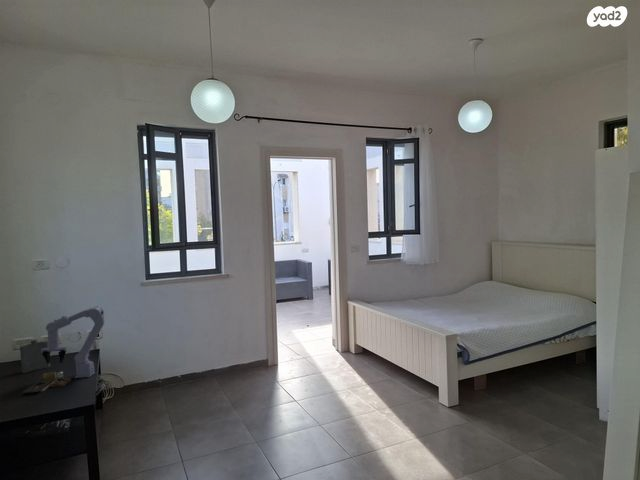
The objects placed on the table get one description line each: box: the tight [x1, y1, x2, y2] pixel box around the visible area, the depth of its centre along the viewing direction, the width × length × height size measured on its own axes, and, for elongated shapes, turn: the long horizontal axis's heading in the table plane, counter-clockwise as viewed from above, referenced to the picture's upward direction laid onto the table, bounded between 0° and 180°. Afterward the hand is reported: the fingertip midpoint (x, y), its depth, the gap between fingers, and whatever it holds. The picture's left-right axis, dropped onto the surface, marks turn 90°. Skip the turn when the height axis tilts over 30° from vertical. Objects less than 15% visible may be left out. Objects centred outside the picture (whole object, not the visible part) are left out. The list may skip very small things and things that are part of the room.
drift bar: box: [22, 371, 57, 394], centre depth 249 cm, size 20×8×4 cm, turn 4°
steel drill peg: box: [56, 370, 65, 383], centre depth 253 cm, size 4×4×7 cm
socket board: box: [34, 380, 55, 392], centre depth 249 cm, size 9×12×2 cm
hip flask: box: [19, 339, 51, 374], centre depth 284 cm, size 16×4×20 cm, turn 132°
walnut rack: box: [50, 378, 72, 388], centre depth 253 cm, size 8×8×2 cm
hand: (55, 362), depth 262 cm, fingers open, 7 cm apart
